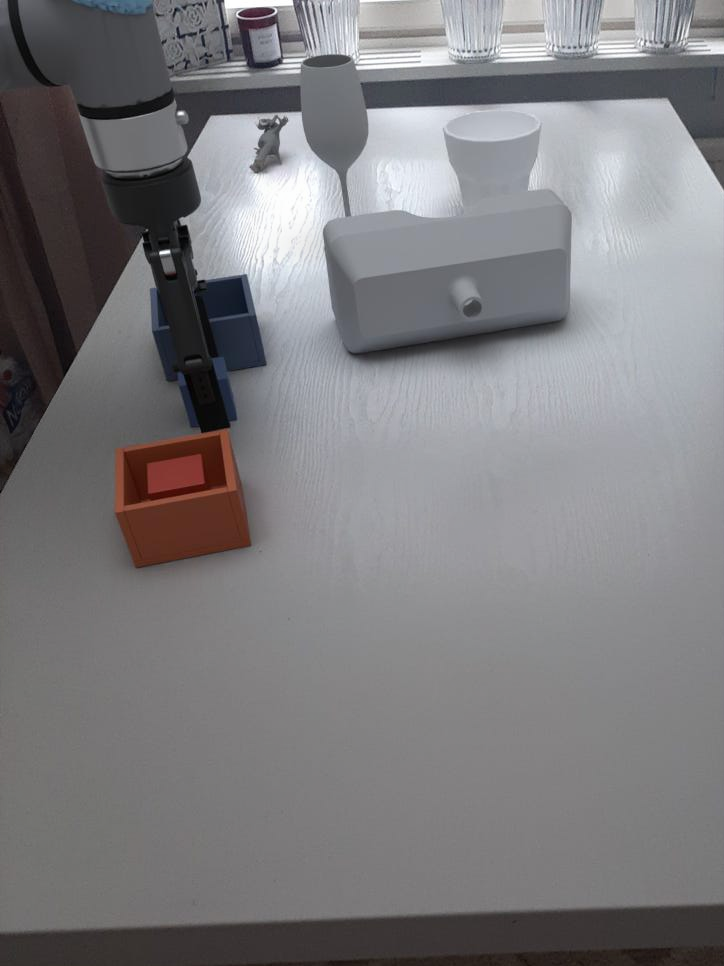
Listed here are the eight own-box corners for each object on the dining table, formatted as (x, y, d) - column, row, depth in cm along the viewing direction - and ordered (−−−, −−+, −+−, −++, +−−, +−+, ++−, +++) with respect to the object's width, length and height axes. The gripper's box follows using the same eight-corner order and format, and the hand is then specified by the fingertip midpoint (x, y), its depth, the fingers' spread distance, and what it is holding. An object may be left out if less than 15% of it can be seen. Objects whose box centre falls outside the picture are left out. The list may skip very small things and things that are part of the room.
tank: (356, 387, 98) (338, 265, 89) (333, 318, 109) (315, 204, 101) (590, 347, 102) (594, 227, 93) (544, 285, 113) (545, 172, 104)
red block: (163, 537, 80) (147, 493, 77) (161, 507, 83) (146, 463, 80) (217, 527, 81) (204, 482, 78) (213, 497, 84) (201, 453, 81)
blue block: (190, 427, 94) (178, 386, 91) (188, 404, 97) (176, 363, 94) (237, 419, 94) (226, 377, 91) (233, 397, 98) (223, 356, 94)
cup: (493, 190, 136) (490, 103, 128) (560, 210, 129) (562, 120, 121) (429, 217, 129) (422, 127, 122) (496, 240, 123) (493, 147, 115)
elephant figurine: (225, 171, 146) (246, 131, 150) (259, 198, 149) (279, 157, 153) (254, 134, 139) (275, 92, 142) (289, 162, 142) (309, 120, 145)
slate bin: (166, 381, 100) (151, 330, 97) (163, 337, 108) (149, 288, 104) (266, 364, 102) (256, 314, 98) (257, 322, 109) (246, 273, 106)
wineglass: (384, 234, 126) (364, 50, 111) (379, 258, 120) (356, 68, 106) (327, 236, 126) (299, 53, 112) (318, 261, 121) (288, 71, 106)
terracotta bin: (135, 568, 79) (114, 512, 75) (134, 502, 85) (115, 448, 81) (251, 545, 80) (236, 489, 76) (241, 483, 87) (227, 428, 83)
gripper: (199, 208, 71) (262, 452, 86) (182, 113, 89) (237, 329, 103) (95, 225, 70) (177, 469, 85) (99, 125, 88) (166, 342, 102)
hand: (210, 393), depth 94 cm, fingers open, 13 cm apart
